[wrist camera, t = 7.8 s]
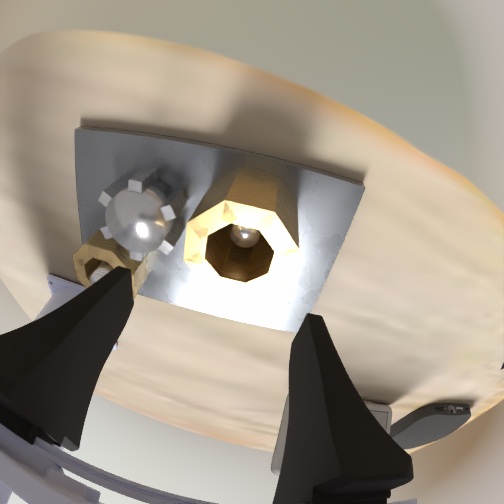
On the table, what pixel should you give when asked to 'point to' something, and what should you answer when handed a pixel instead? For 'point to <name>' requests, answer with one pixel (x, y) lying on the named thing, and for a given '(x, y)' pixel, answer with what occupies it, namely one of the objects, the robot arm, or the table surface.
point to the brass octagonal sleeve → (249, 215)
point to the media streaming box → (429, 424)
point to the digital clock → (378, 410)
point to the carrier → (180, 210)
